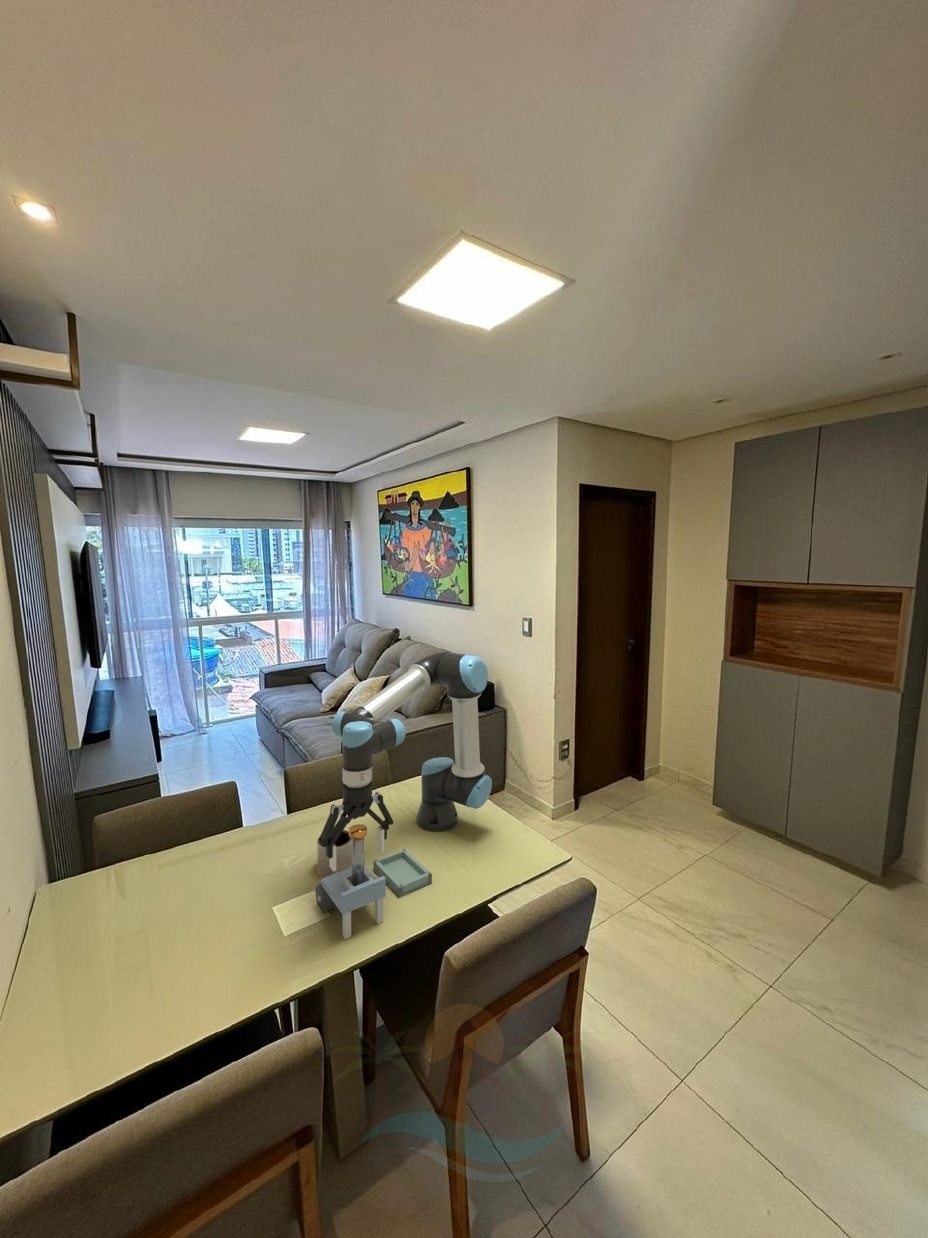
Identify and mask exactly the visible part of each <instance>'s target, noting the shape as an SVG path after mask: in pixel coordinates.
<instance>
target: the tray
mask: <svg viewBox="0 0 928 1238" xmlns="http://www.w3.org/2000/svg"><path fill="white" fill-rule="evenodd" d="M373 871H374V872H375V874H377V875H378V876H379V878H380V877H382V876H384V877H385V878H386V886H388V887H389V888H390V890H392V891H393V893H395V894H396V896H397V897H398V898H402V897H404V896H406V895H409V894H411V893H412V892H415V891H417V890H420V889H422V888H424V887H427V886H428V885H431V884H433V873H432V872H431V871H430V870H429V869H427V867H425V866H424V865H423V864H422V863H421V862H419V860H418V859H416V858H415V857H414V856H413V855H412V854H411V853H410V852H409V851H407V850H406V848H403V849H400V850H398V851H395V852H392V853H390V854H388V855H387V854H386V855H384V856H382V857H378V858H376V859H374V860H373Z"/></svg>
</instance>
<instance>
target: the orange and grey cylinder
mask: <svg viewBox="0 0 928 1238" xmlns="http://www.w3.org/2000/svg"><path fill="white" fill-rule="evenodd" d="M348 831H349V837H350V838H352V885H353V886H354V887H355V886H357V885H360V884H362V883H364V866H365V837H366V836H367V835H368V832H367V831H368V827H367V826H366V825H365V824H361V823H359V824H357V823H356V824H352V825H351V826H349V828H348Z"/></svg>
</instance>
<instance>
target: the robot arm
mask: <svg viewBox="0 0 928 1238" xmlns="http://www.w3.org/2000/svg"><path fill="white" fill-rule="evenodd" d="M488 680H489V671H488V666H487V664H486V663H485V661H484V660H483V659H482V658H481V657H479V656H475V655H472V654H462V653H454V652H447V651H438V652H435V653H434V652H433V653H432V654H431V653H430V654H429V655H425V656H424V657H422V658H421V659H419V660H416V661H415V662H414V663H413V664H411V665H410V666H409V667H408V668H407V671H406V672H405V673H404V674H402V675H401V676H399V677H398V678H397V679H395V680H394V681H393V682H391V683H389V684H388V685H387V686H386V687H384V688H383V689H382V690H380V691H378V692H377V693H376V694H375V695H373V696H372V697H370V698H369V699H367V700H366V701H365V702H363V703H362V704H361V705H359V706H358V707H356V708H355V709H354V710H352V711H340V712H338V713H336V714H335V716H334V717H333V719H332V721H331V722H332V723H331V729H332V733H333V734H334V735H335V736H336V737H338V738H341V744H342V746H341V748H342V749H341V750H342V803H341V804H339V805H336V804H331V806H330V808H329V809H330V810H329V815H328V817H327V819H326V821H325V824H324V826H323V829H322V831H321V833H320V835H319V837H320V838H319V837H318V838H319V840H318V839H317V840H318V842H319V843H320V845H321V846H322V847H325V846H326V856H327V857H328V858H329V866H330V868H331V869H332V870H333V871H336V845H335V844H334V843H335V842H336V840H337V839H338V837H339V836H340V834H341V833H342V831H343V830H345V828H346V827H347V825H348V824H350V823H351V821H352V820H356V819H358V818H362V817H365V816H366V815H367V814H368V815H369V816H370V817H371V818H372V819H373V820H374V821H375V822H376V823H378V824H379V826H376V850H377V851H378V852H379V853H380V854H384V853H385V840H387V838H388V835H387V834H388V830H389V829H390V825H394V819H393V817H392V815H391V813H390V812H389V810H388V808H387V807H386V805H385V803H384V796H383V795H382V794H381V793H380V792H378V791H376V792H375V793H374V795H373V782H372V781H373V756H374V755H378V754H380V753H382V752H385V751H387V750H391V749H394V748H396V747H397V746H399V745H401V744H402V743H403V742H404V741H405V738H406V728H405V725H404V724H403V722H402V721H401V720H400V719H397V718H391V719H386V718H387V717H388V716H389V715H391V714H392V713H393V712H395V711H396V710H397V709H398V708H399V707H401V706H402V705H404V704H405V703H406V702H408V700H410V699H411V698H413V697H414V696H415V695H416V694H418V693H419V692H420V691H425V690H427V689H429V688H430V687H433V686H442V687H446V693H447V695H446V696H447V697H449V699H451V703H452V704H451V705H452V721H453V723H452V724H453V725H452V727H453V742H454V743H453V744H454V759H452V758H450V757H445V756H443V757H433V758H430V759H427V760H426V761H425V762H424V763H423V764H422V765H421V766H422V767H421V772H420V773H421V801H420V805H419V807H418V812H417V814H416V824H417V825H418V827H419V828H421V829H423V830H425V831H429V832H445V831H449V830H450V829H452V828H454V827H456V825H457V824H458V822H459V821H458V819H459V816H458V812H457V809H456V805H455V803H456V804H460V805H462V806H465V807H466V808H472V809H475V810H477V809H480V808H482V807H483V806H484V805H486V802H488V799H489V797H490V794H491V792H492V787H493V781H492V778H491V776H489V775H488V774H487V775H486V772H485V765H484V764H483V763H482V762H481V759H480V758H481V756H480V755H481V754H480V733H479V732H480V731H479V730H480V729H479V705H478V703H479V702H478V699H479V698H480V697H481V696H482V692H483V691H484V690H485V689H486V687H487V685H488V683H487V682H488ZM384 719H386V720H384ZM454 761H455V762H454ZM373 803H375V804H376V805H377V807H378V808H379V811H380V813H381V814H382V817H383V818H384V820H383V819H382V818H381V817H380V816H379V815H377V814H376V813H375V812H374V811H373V810H372V809H371V806H372V804H373ZM341 812H342V813H341ZM339 816H340V817H339Z"/></svg>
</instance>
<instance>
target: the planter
mask: <svg viewBox="0 0 928 1238" xmlns="http://www.w3.org/2000/svg"><path fill="white" fill-rule="evenodd" d="M319 838H320V836H318V838H317V839H316V840H317V841H316V843H317V845H316V847H317V851H316V852H317V853H316V855H317V859H316V860H317V861H316V863H317V872H318V873H319V874H320V875H322V876H324V877H327V876H330V875H333V874H335V873H338V872H341V871H343V870H346V869H349V868H351V867H352V838H350V837H349V830H346V829H344V830H343V831H342V833H341V834H340V836H339V837H338V839H337V840H336V842H335V843H334V844H335V845H336V871H333V870H332V869H331V868H330V866H329V858H328V857H327V856H326V846H325V847H322V846H321V845H320V843H319V842H318V840H319Z"/></svg>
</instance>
